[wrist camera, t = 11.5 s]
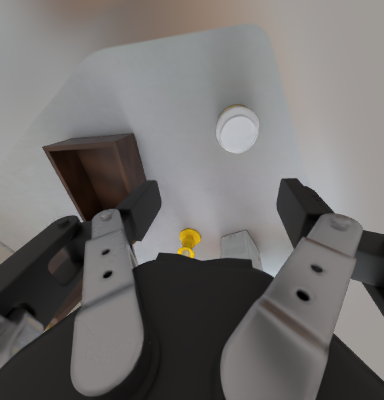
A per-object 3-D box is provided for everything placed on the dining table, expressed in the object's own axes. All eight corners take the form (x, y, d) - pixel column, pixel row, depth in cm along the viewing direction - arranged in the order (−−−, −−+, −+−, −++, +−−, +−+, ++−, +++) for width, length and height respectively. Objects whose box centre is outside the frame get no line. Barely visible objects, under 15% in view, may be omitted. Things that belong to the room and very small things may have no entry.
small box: (220, 237, 40) (218, 290, 29) (246, 229, 37) (254, 284, 27) (235, 258, 43) (238, 314, 32) (259, 252, 40) (272, 310, 30)
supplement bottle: (253, 137, 27) (264, 155, 19) (220, 143, 29) (217, 162, 21) (251, 99, 25) (264, 102, 17) (215, 108, 26) (210, 115, 18)
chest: (71, 138, 33) (41, 146, 28) (134, 133, 30) (114, 141, 25) (104, 211, 42) (86, 228, 37) (155, 212, 39) (144, 230, 34)
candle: (204, 239, 41) (195, 306, 28) (188, 246, 44) (172, 311, 31) (192, 225, 40) (175, 289, 27) (175, 233, 42) (153, 295, 29)
